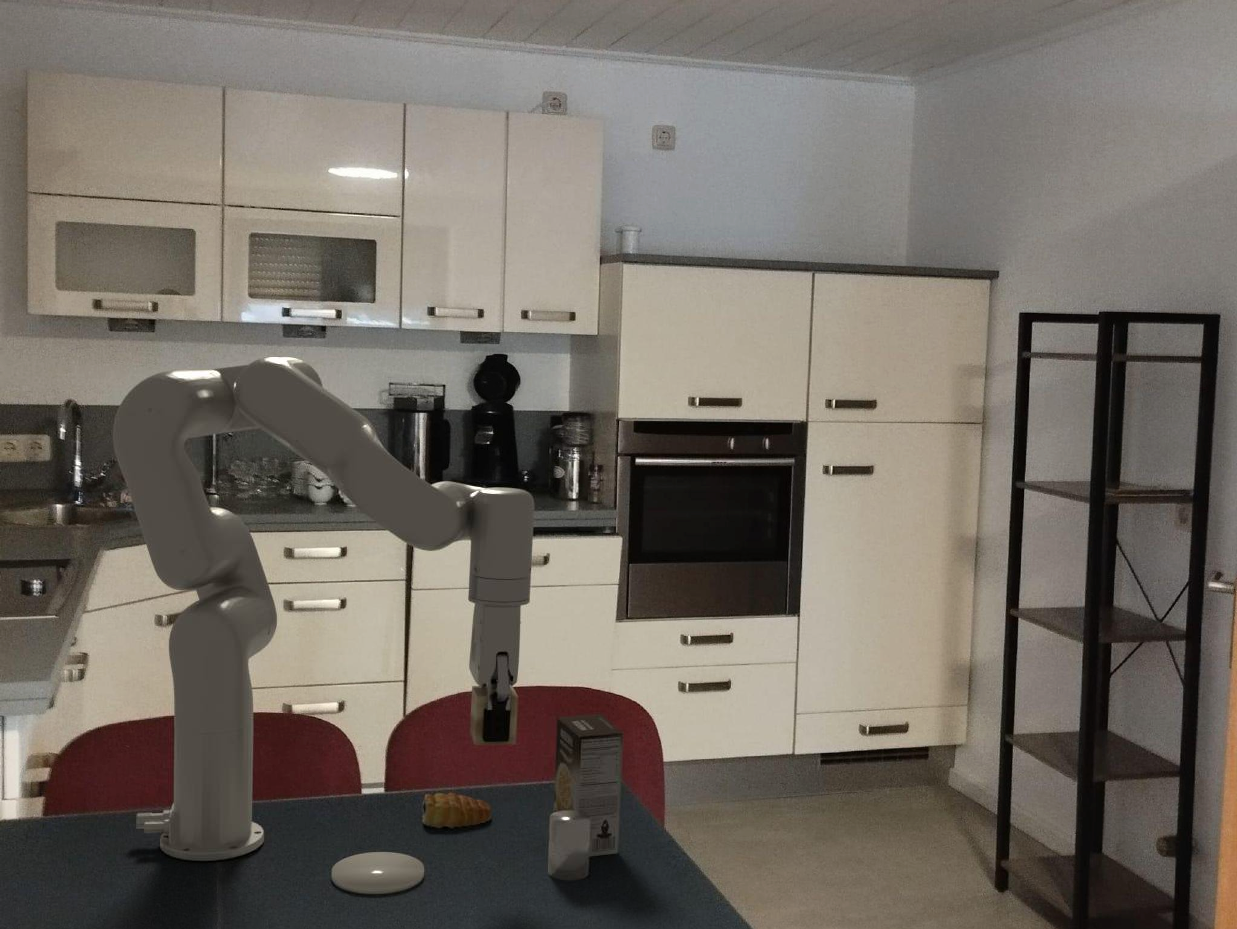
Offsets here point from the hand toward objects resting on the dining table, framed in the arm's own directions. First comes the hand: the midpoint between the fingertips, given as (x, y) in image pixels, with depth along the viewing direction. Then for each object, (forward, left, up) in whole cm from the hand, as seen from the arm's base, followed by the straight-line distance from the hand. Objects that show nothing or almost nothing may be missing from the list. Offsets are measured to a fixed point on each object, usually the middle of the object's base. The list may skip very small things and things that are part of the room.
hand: (492, 732), depth 165 cm
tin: (+9, -4, -17) cm, 20 cm away
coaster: (-14, -2, -17) cm, 22 cm away
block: (0, 0, -1) cm, 1 cm away
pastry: (-3, +16, -17) cm, 24 cm away
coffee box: (+13, +5, -17) cm, 22 cm away
